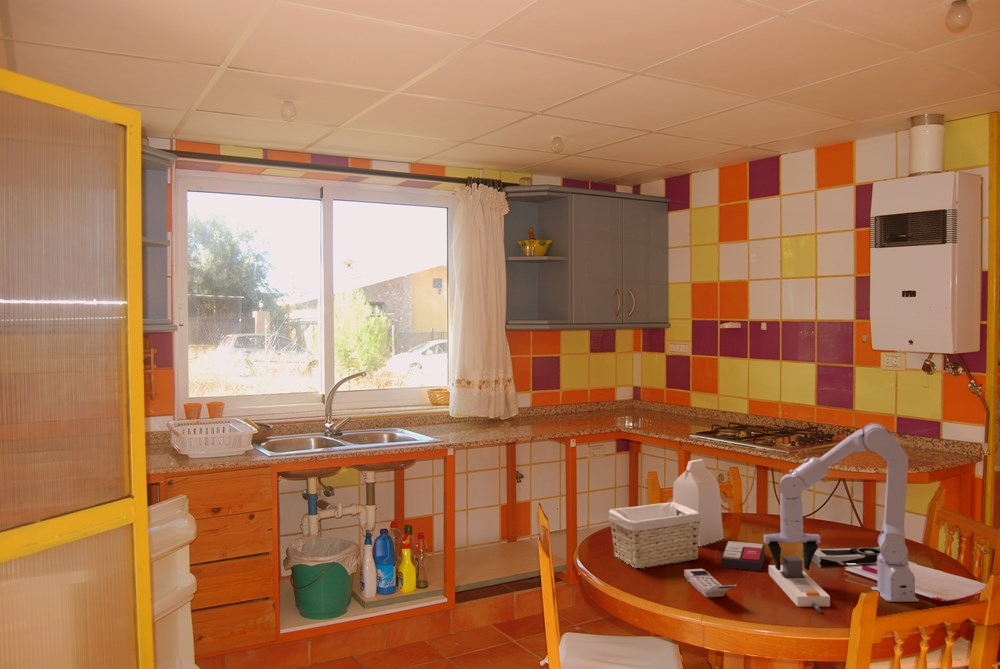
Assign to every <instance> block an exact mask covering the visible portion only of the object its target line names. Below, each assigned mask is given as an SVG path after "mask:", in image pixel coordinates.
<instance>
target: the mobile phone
mask: <svg viewBox="0 0 1000 669" xmlns="http://www.w3.org/2000/svg"><path fill="white" fill-rule="evenodd" d="M683 574H684V575H683V576H684V577H685V579H686V582H687V581H688V582H690V583H689V584H691V585H692V586H693V587H694V589H695V590H697V591H698V592H699V593H700V594H701V595H703V597H705V598H715V597H716V598H717V597H724V596H725V592H726V591H728V590H730V589H734V588H735V587H737V584H732V585H731V584H729V585H722V584H721V583H720V582H719V581H718V580H717V579H715V577H713V575H712V574H711V573H710V572H708V571H706V570H705V569H703V568H693V569H692V568H691V569H690V568H688V569H684V570H683ZM688 582H687V583H688Z"/></svg>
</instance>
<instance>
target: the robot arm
mask: <svg viewBox="0 0 1000 669" xmlns="http://www.w3.org/2000/svg"><path fill="white" fill-rule="evenodd" d="M866 448H867V449H868V450H870V451H872V452H873V453H874V454H875V453H876V454H877V455H879V456H880V457H881V458H883V460H884V461H885V462H886V463H887V466H886V481H885V483H886V484H885V496H884V497H885V498H884V510H883V511H884V514H883V521H882V522H883V523H882V530H881V532H880V534H879V535H878V537H877V545H878V547H880V552H881V553H880V554H879V555H878V556H877V565H876V566H877V567H876V568H877V574H876V575H877V586H872V587H871V590H873V591H874V590H878V591H879V592H880V595H879V596H880V597H881V599H883V600H885V601H886V602H888V603H889V602H891V603H892V602H894V603H895V602H903V603H904V602H909V603H910V602H919V598H918V597H916V577H915V575H914V573H913V571H912V570H911V569H910V566H909V558H908V555H909V549H908V547H907V545H906V541H905V540H906V533H905V532H906V531H905V516H906V502H907V501H906V500H907V486H908V469H909V456H908V454H907V453H906V452H905V450H904V449H903V447H902V446H901V445H900V443H899V441H898V440H897V438H896V437H895V435H894V434H893V433H892V432H891V430H889V429H888V428H887V427H886V426H884V425H883V424H882V423H878V422H870V423H868V424H866V425H864V427H863V428H860V429H858V430H856V431H854V432H853V433H851V434H850V435H848V436H847V437H846V438H844V439H843V440H841V441H840V442H839V443H838V444H836V445H835V446H834V447H832V448H830V449H829V450H828V451H827V452H826V453H824V454H823V455H822V456H820V457H815V456H812V457H810V458H809V457H806V458H805V459H803V462H804V463H802V464H800V465H799V466H798V467H796V468H794V469H790V470H789V471H788V472H789V473H786V474H784V475H783V476H782V477H781V478H780V481H779V491H780V497H779V498H780V502H779V514H780V515H779V517H780V518H779V519H780V526H779V527H780V532H777V533H769V534H767V533H766V534H763V542H764V543H765V544H767V547H768V548H769V550H770V553H771V555H772V558H773V561H774V562H773V563H774V565H775V567H776V569H777V570H780V569H781V565H782V564H781V552H782V547H781V546H780V543H782V544H783V543H788V544H789V543H790V544H791V543H794V544H795V543H796V544H797V543H802V549H804V557H803V568H804V569H805V570H806V571H809V570H810V567H811V563H812V558H813V556H814V554H815V552H816V550H817V548H819V546H818V545H819V544H820V543H821V535H819V534H818V533H806V532H804V516H803V514H804V512H803V510H804V509H803V506H804V505H803V501H802V494H803V491H804V489H808V488H810V487H811V486H813V485H815V484H816V483H817V482H818V481H820V480H821V479H823V478H824V477H826V476H827V475H828V468H830V467H832V466H833V465H835V464H836V463H839V462H840V461H841V460H842V459H844V458H846V457H847V456H850V455H851V454H852V453H854V452H867V449H866Z"/></svg>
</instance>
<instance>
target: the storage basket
mask: <svg viewBox="0 0 1000 669" xmlns="http://www.w3.org/2000/svg"><path fill="white" fill-rule="evenodd" d="M679 513H680V514H682V515H679ZM608 521H609V523H610V529H611V535H612V536H611V537H612V544H613V551H614V552H613V553H614V557H616V558H617V557H618V558H617V559H619V558H620V559H621V560H620V559H619V560H620V561H622V560H623V561H624V562H623V561H622V562H623V563H625V562H626V563H625V564H626V565H628V564H630V565H631V566H632V567H631V566H630V565H629V566H630V567H631V568H633V567H634V568H633V569H636V568H640V569H641V568H642V569H646V568H645V567H647V568H653V567H660V566H659V565H661V566H664V565H665V564H666V565H672V564H671V563H673V564H678V563H684V562H687V561H692V560H693V561H695V560H698V558H699V547H698V546H699V544H698V543H699V528H700V513H699V512H697V511H695V510H692V509H690V508H688V507H685V506H683V505H680V504H677V503H675V502H673V501H669V502H660V503H652V504H647V505H644V504H643V505H638V506H629V507H619V508H611V509H609V510H608ZM652 566H653V567H652Z"/></svg>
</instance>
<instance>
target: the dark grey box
mask: <svg viewBox="0 0 1000 669" xmlns="http://www.w3.org/2000/svg"><path fill="white" fill-rule="evenodd" d="M765 550H766V549H765V545H764V544H763V543H755V542H754V543H753V542H743V541H732V540H731V541H730V540H728V541H726V544H725V547H724V550H723V553H722V555H721V560H720V562H721V568H726V567H731V568H730V569H736V568H738V569H737V570H745V569H747V570H746V571H754V572H755V571H756V572H761V571H762V569H763V564H764V560H765V556H766V555H765V552H766V551H765Z"/></svg>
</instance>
